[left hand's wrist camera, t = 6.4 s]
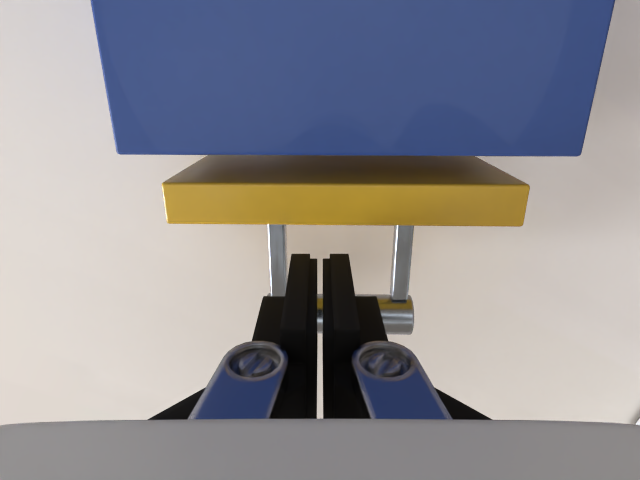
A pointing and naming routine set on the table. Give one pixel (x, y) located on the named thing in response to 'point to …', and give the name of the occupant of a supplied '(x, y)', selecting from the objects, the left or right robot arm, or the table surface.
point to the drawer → (346, 204)
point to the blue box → (351, 76)
